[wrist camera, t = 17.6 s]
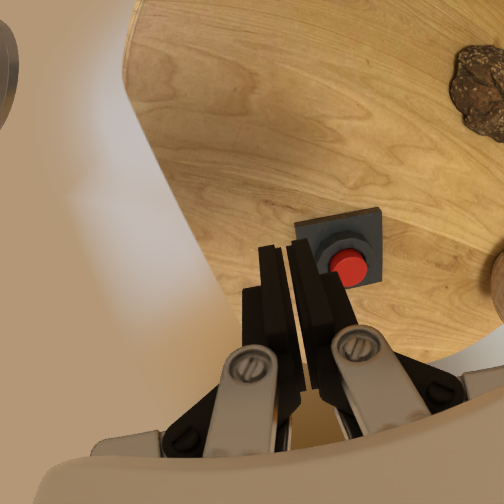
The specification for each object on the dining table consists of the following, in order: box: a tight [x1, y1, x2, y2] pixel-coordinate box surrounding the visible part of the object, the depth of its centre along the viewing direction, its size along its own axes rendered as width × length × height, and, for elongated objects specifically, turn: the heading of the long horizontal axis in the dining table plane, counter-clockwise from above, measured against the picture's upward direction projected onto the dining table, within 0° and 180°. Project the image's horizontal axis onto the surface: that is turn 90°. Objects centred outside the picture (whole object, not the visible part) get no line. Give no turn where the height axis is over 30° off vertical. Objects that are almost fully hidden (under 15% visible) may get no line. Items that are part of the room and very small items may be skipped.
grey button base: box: [294, 207, 382, 289], centre depth 36 cm, size 10×10×3 cm
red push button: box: [330, 249, 367, 287], centre depth 34 cm, size 4×4×2 cm
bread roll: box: [450, 45, 504, 143], centre depth 23 cm, size 13×12×5 cm
